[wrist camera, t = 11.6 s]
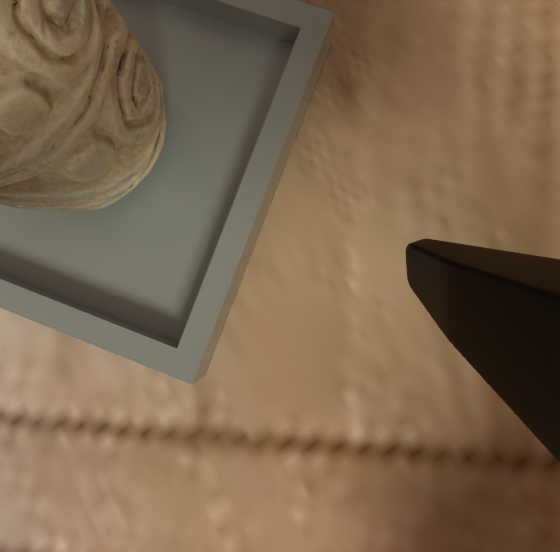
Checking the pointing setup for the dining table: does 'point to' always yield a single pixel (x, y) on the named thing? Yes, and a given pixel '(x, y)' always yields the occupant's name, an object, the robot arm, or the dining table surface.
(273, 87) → the tray
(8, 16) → the carving
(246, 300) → the dining table surface
